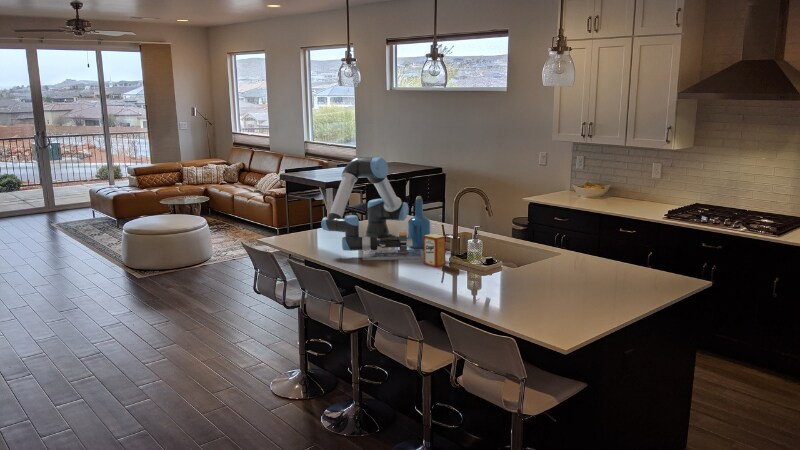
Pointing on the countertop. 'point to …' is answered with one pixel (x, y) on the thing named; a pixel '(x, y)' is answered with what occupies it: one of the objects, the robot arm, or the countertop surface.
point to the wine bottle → (418, 226)
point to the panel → (391, 254)
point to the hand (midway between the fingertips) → (412, 242)
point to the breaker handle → (403, 238)
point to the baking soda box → (434, 250)
